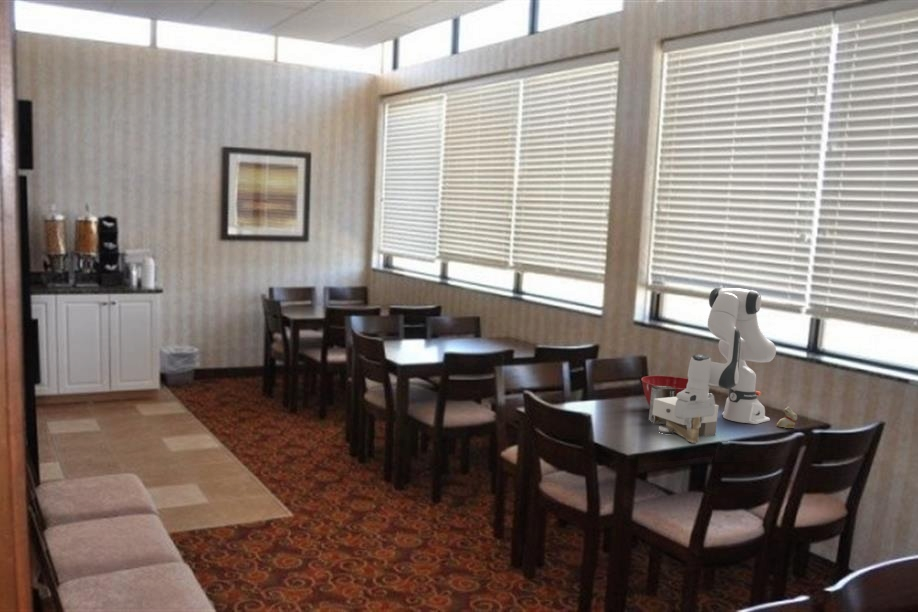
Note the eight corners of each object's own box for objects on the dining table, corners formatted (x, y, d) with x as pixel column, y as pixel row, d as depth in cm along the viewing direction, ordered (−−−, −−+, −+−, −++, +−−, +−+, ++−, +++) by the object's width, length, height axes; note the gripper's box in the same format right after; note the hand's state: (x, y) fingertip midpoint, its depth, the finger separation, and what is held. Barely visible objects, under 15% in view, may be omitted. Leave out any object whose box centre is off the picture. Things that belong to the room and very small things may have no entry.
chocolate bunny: (792, 430, 366) (795, 408, 365) (775, 426, 371) (777, 405, 370) (796, 428, 371) (799, 407, 369) (779, 424, 376) (781, 403, 374)
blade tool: (670, 427, 353) (672, 400, 351) (698, 442, 332) (700, 413, 331) (664, 427, 352) (666, 400, 350) (691, 442, 331) (694, 413, 330)
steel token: (665, 430, 351) (666, 424, 350) (675, 434, 346) (676, 428, 345) (655, 431, 348) (655, 425, 348) (665, 435, 343) (665, 429, 342)
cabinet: (683, 424, 364) (686, 395, 362) (715, 435, 349) (718, 405, 347) (649, 428, 352) (652, 398, 351) (681, 439, 337) (684, 408, 336)
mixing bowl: (637, 416, 372) (640, 383, 370) (639, 403, 400) (642, 372, 398) (701, 424, 366) (705, 390, 364) (698, 410, 393) (702, 379, 391)
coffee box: (666, 420, 368) (670, 385, 367) (673, 424, 362) (676, 389, 360) (647, 420, 367) (651, 385, 365) (654, 424, 360) (657, 388, 358)
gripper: (708, 391, 339) (704, 423, 341) (673, 394, 328) (670, 427, 330) (720, 394, 334) (716, 427, 336) (685, 397, 323) (682, 431, 325)
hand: (693, 427), depth 333 cm, fingers closed on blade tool, 4 cm apart
